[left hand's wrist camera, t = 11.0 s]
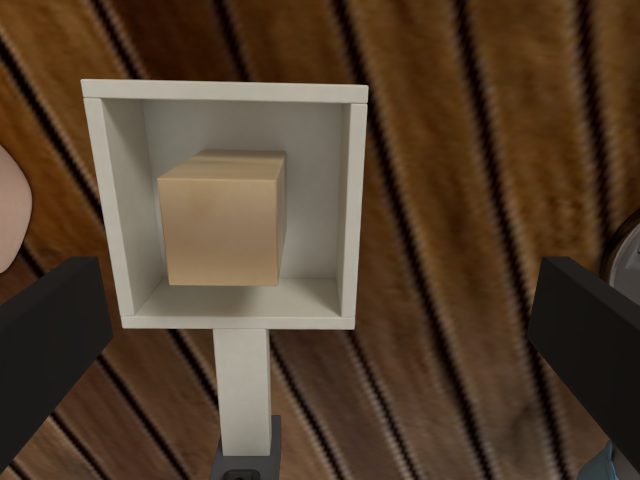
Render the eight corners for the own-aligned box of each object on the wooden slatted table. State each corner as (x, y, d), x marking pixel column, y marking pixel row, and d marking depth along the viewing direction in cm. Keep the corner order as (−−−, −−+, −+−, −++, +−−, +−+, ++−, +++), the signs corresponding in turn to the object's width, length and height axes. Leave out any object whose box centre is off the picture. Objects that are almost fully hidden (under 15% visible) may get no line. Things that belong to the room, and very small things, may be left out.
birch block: (286, 229, 27) (277, 287, 19) (208, 228, 27) (168, 285, 19) (286, 150, 25) (276, 180, 17) (202, 149, 25) (156, 177, 17)
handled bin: (339, 425, 33) (354, 600, 22) (175, 425, 33) (105, 603, 22) (356, 84, 24) (395, 87, 13) (129, 79, 24) (-30, 77, 13)
